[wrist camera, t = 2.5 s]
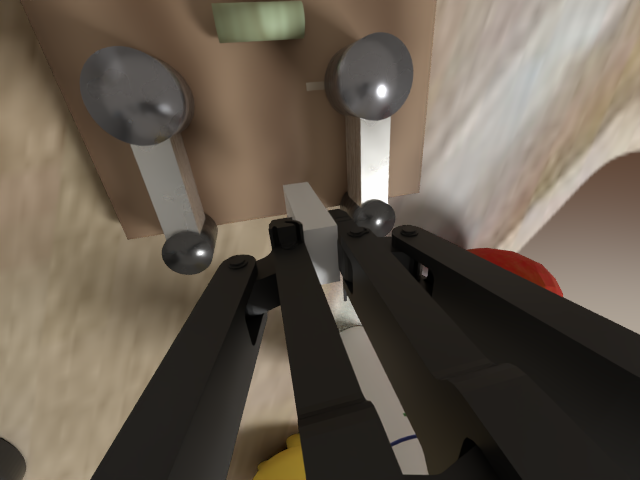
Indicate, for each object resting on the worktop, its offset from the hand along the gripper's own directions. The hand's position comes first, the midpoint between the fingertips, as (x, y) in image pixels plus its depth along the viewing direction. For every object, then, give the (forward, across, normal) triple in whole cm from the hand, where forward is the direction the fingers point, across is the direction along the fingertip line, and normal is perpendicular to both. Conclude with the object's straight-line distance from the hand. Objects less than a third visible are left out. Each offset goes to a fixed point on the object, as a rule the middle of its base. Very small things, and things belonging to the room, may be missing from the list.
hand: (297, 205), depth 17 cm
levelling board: (+7, 0, +4) cm, 9 cm away
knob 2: (+5, +6, +2) cm, 8 cm away
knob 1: (+5, -7, +2) cm, 9 cm away
